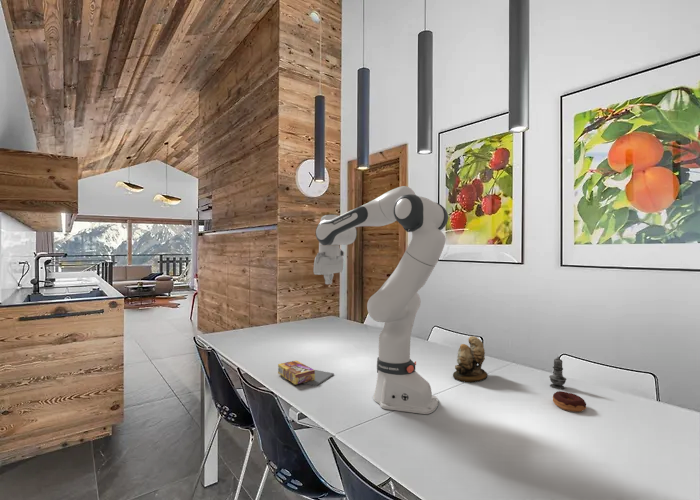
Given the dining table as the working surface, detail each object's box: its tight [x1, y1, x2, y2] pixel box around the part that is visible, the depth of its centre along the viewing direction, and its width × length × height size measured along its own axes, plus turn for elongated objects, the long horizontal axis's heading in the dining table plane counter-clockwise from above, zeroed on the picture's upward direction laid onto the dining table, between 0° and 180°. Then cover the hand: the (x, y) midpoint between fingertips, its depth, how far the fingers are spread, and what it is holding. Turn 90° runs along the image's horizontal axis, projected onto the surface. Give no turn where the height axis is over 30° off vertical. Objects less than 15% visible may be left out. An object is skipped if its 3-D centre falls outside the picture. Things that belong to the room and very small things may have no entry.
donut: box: [552, 390, 587, 413], centre depth 125 cm, size 10×10×4 cm
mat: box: [281, 369, 335, 387], centre depth 150 cm, size 16×14×1 cm
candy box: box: [277, 360, 316, 385], centre depth 147 cm, size 9×4×15 cm
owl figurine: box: [452, 335, 488, 384], centre depth 153 cm, size 18×12×17 cm, turn 132°
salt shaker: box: [548, 355, 567, 391], centre depth 143 cm, size 6×6×12 cm
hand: (328, 284), depth 159 cm, fingers closed
